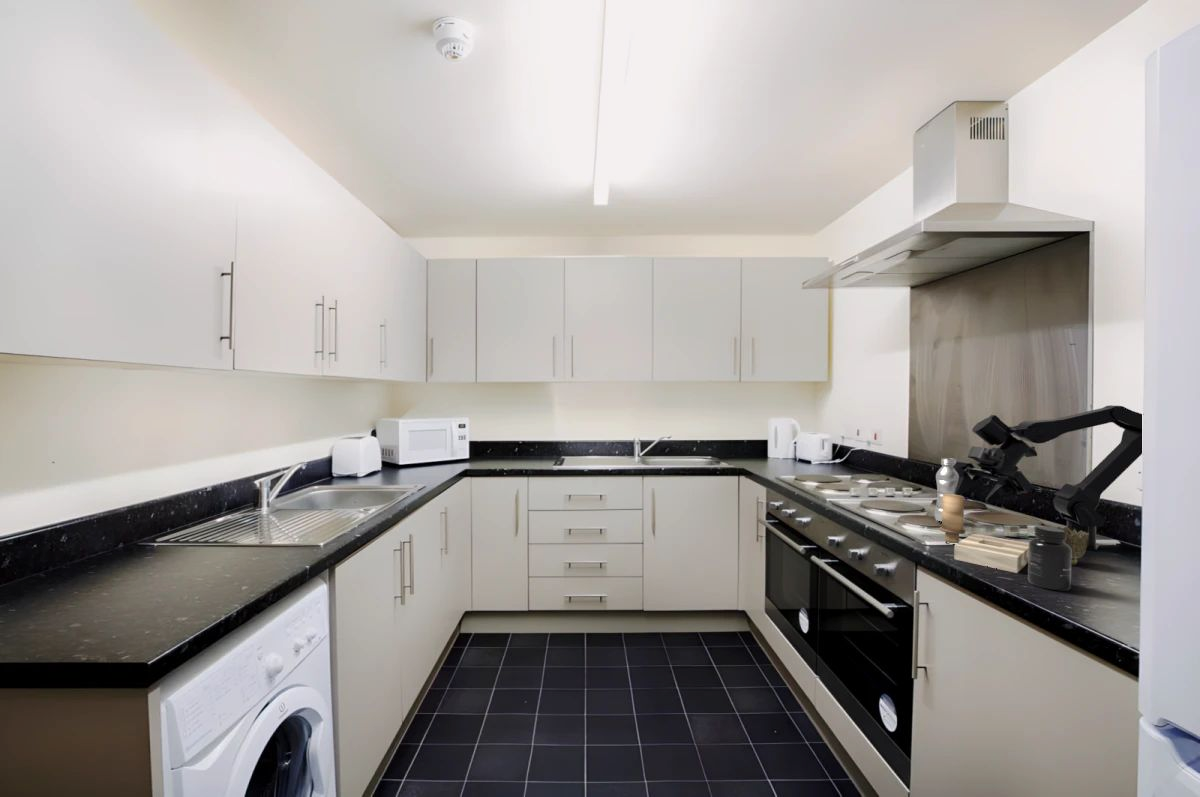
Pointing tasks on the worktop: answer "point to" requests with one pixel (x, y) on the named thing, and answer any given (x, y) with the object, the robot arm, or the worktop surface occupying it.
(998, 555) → the light wooden block
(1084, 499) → the robot arm
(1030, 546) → the supplement bottle
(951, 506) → the oak peg
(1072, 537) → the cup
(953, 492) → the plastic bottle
